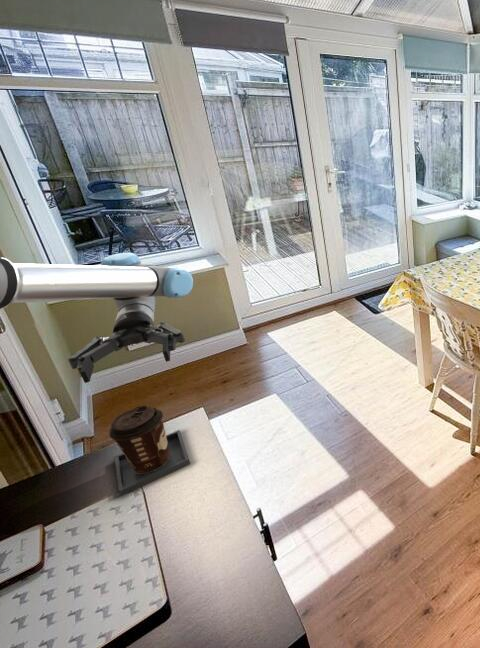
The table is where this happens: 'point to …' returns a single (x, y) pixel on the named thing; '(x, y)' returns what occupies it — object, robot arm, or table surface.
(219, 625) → the table surface
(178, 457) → the coaster pad
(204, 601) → the table surface
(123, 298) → the robot arm
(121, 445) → the coffee cup
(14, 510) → the table surface
